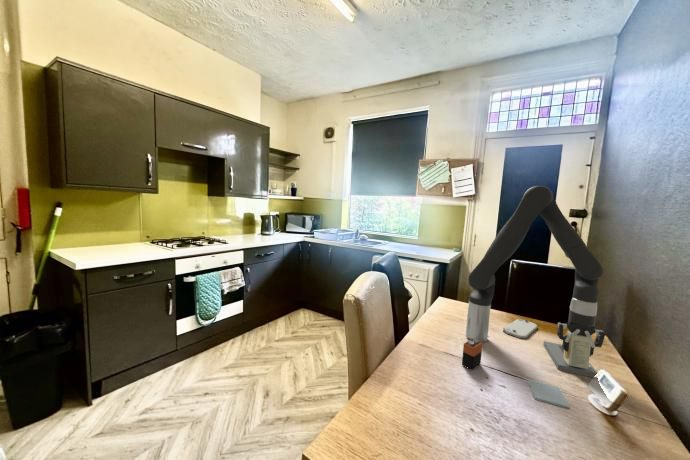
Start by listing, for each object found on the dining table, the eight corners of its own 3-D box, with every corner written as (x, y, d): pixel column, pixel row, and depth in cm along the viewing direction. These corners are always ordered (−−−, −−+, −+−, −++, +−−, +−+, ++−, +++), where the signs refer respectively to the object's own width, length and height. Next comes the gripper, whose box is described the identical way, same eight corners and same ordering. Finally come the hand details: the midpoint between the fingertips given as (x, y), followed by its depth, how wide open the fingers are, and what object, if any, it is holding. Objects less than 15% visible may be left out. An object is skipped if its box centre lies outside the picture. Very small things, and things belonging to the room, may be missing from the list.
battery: (461, 365, 104) (463, 340, 103) (470, 359, 108) (472, 336, 107) (472, 371, 100) (474, 345, 99) (480, 365, 104) (483, 340, 103)
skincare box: (582, 363, 104) (587, 333, 102) (588, 369, 100) (593, 338, 98) (562, 359, 106) (566, 330, 104) (567, 365, 102) (571, 335, 100)
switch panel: (597, 378, 99) (598, 373, 99) (557, 369, 104) (558, 364, 103) (576, 351, 117) (576, 347, 117) (543, 345, 122) (543, 340, 122)
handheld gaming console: (525, 335, 125) (501, 327, 133) (524, 341, 126) (501, 332, 133) (539, 323, 140) (517, 316, 148) (538, 328, 140) (517, 321, 148)
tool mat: (534, 399, 87) (534, 397, 87) (527, 380, 96) (527, 379, 96) (569, 408, 83) (569, 406, 83) (558, 388, 92) (558, 387, 92)
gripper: (562, 310, 100) (556, 352, 102) (613, 319, 94) (606, 363, 96) (556, 304, 107) (551, 343, 109) (603, 311, 101) (596, 353, 103)
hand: (576, 352), depth 102 cm, fingers closed on skincare box, 6 cm apart
